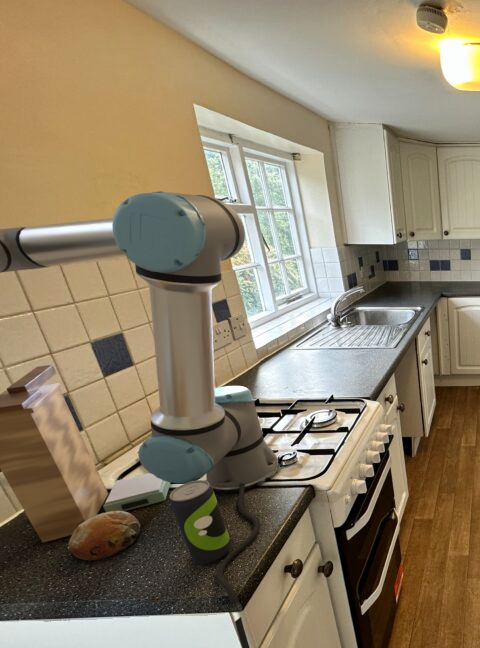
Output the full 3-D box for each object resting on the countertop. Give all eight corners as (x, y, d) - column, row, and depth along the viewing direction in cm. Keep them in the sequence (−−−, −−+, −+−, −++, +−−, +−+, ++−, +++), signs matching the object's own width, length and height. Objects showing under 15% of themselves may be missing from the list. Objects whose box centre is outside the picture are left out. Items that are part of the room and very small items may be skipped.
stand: (92, 529, 85) (31, 407, 74) (38, 543, 81) (-34, 418, 70) (111, 492, 96) (60, 382, 85) (64, 504, 92) (5, 390, 82)
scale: (165, 501, 93) (160, 490, 92) (106, 516, 89) (101, 505, 87) (172, 478, 101) (168, 467, 100) (119, 490, 97) (114, 480, 96)
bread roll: (139, 535, 88) (119, 503, 87) (154, 533, 83) (133, 499, 81) (78, 568, 80) (55, 533, 79) (90, 568, 74) (65, 531, 73)
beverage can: (200, 546, 81) (175, 483, 75) (236, 538, 82) (215, 476, 77) (188, 570, 75) (161, 504, 69) (227, 561, 77) (204, 496, 71)
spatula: (24, 409, 74) (18, 399, 73) (-26, 417, 71) (-32, 406, 70) (67, 371, 91) (63, 363, 90) (29, 376, 88) (25, 368, 88)
